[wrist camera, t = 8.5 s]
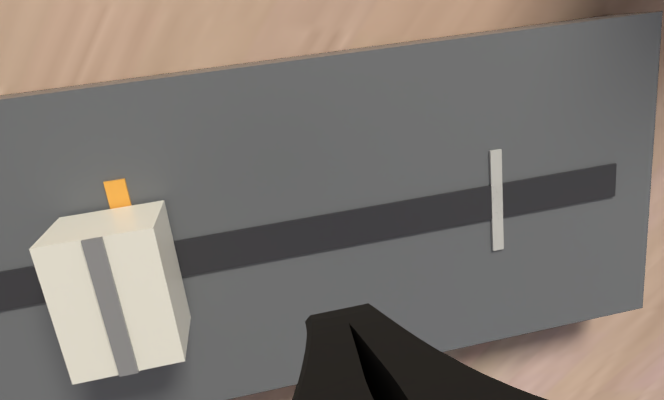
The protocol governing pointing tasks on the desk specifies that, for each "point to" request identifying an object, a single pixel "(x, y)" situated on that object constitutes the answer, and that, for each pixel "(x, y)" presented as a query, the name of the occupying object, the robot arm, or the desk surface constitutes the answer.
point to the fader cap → (114, 291)
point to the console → (347, 196)
